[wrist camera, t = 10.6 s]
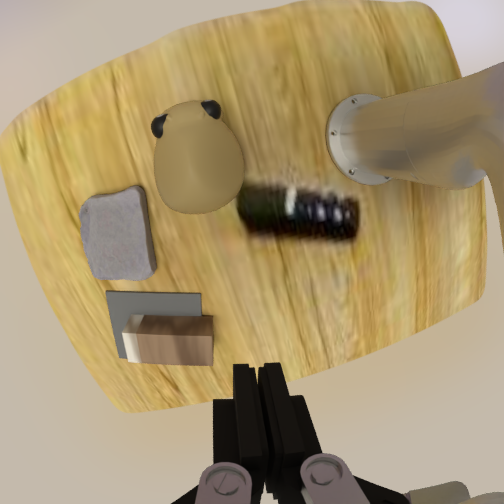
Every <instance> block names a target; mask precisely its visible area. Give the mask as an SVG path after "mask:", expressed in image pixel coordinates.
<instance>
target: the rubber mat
mask: <svg viewBox="0 0 504 504" xmlns="http://www.w3.org/2000/svg"><path fill="white" fill-rule="evenodd" d="M106 298H107V303H108V309H109V314H110V319H111V324H112V328H113V333H114V337H115V342H116V346H117V350H118V354H119V358H124V359H128V358H127V353H126V349H125V345H124V340H123V335H122V332H123V330H124V328H125V326H126V324H127V322H128V320H129V318H130V316H131V314H136V315H162V316H202V312H201V293H168V292H130V291H106Z"/></svg>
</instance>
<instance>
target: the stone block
mask: <svg viewBox="0 0 504 504" xmlns="http://www.w3.org/2000/svg"><path fill="white" fill-rule="evenodd" d="M79 218H80V221H81V228H80V230H81V238H82V242H83V246H84V251H85V254H86V257H87V258H88V264H89V266H90V269H91V272H92V274H93V276H94V277H95V278H97V279H100V280H105V279H106V280H120V279H125V280H133V281H139V280H145V279H147V278H149V277H150V276H152V275H153V274H154V272H155V270H156V268H157V265H156V259H155V254H154V248H153V242H152V236H151V230H150V223H149V217H148V211H147V203H146V195H145V192H144V190H143V189H142V188H140V187H139V186H132V187H129V188H128V189H126V190H124V191H120V192H118V193H114V194H104V195H94V196H92V197H90V198H89V199H88V200H86V201H85V203H84V204H83V205H82V206H81V209H80V212H79Z"/></svg>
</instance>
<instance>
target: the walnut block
mask: <svg viewBox="0 0 504 504" xmlns="http://www.w3.org/2000/svg"><path fill="white" fill-rule="evenodd" d="M122 335H123V340H124V345H125V349H126V353H127V358H128V362H134V363H148V364H165V365H193V366H213V347H214V344H213V316H162V315H136V314H131V316H130V318H129V320H128V322H127V324H126V326H125V328H124V330H123V332H122Z"/></svg>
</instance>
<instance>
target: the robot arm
mask: <svg viewBox="0 0 504 504" xmlns="http://www.w3.org/2000/svg"><path fill="white" fill-rule="evenodd" d="M352 101H353V103H352ZM331 132H333V135H331ZM326 141H327V147H328V150H329V154H330V156H331V158H332V160H333V162H334V163H335V165H336V166H337V168H338V169H339V170H340V171H341V172H342V173H343V174H344V175H345V176H347V177H348V178H350V179H351V180H353V181H355V182H358V183H361V184H365V185H380V184H383V183H386V182H388V181H390V180H391V179H393V178H397V179H402V180H407V181H412V182H417V183H421V184H426V185H431V186H435V187H439V188H445V189H450V190H462V189H466V188H469V187H472V186H473V185H475V184H476V183H478V182H479V181H480V180H482V179H483V178H484V177H485V176H486V175H487V176H488V178H489V180H490V183H491V186H492V190H493V194H494V198H495V203H496V205H497V211H498V216H499V222H500V229H501V236H502V243H503V251H504V62H502V63H499V64H497V65H494V66H492V67H489V68H487V69H485V70H482V71H480V72H478V73H475V74H472V75H469V76H467V77H463V78H460V79H457V80H453V81H450V82H446V83H442V84H437V85H433V86H429V87H425V88H421V89H416V90H412V91H409V92H405V93H401V94H397V95H394V96H390V97H386V98H381V97H378V96H376V95H372V94H356V95H353V96H350V97H348V98H346V99H344V100H343V101H341V102H340V103H339V104H338V105H337V106H336V107H335V108H334V110H333V111H332V113H331V115H330V117H329V120H328V123H327V128H326ZM349 170H350V171H351V172H350V173H349ZM213 462H214V464H213V465H211V466H209V467H208V468H206V469H205V470H204V471H203V473H202V475H201V477H200V481H199V485H197V486H196V487H194V488H193V489H192V490H190V491H189V492H187V493H186V494H185V495H183V496H182V497H180V498H179V499H177V500H176V501H175V502H173V503H171V504H260V500H261V495H262V493H263V489H264V483H265V485H266V491H267V493H273V498H274V500H275V499H278V504H504V492H492V493H486V494H483V495H479V496H476V497H473V498H470V495H469V492H468V489H467V487H466V486H465V485H464V484H463V483H461V482H458V481H453V482H448V483H444V484H441V485H436V486H432V487H427V488H422V489H418V490H412V491H409V492H408V493H405V494H400V493H398V492H396V491H393V490H390V489H387V488H384V487H381V486H379V485H376V484H373V483H370V482H368V481H366V480H363V479H361V478H358V477H356V476H354V475H352V473H351V472H350V470H349V468H348V467H347V465H346V464H345V462H344V461H343V460H342V459H340V458H339V457H337V456H335V455H332V454H325V453H322V450H321V447H320V444H319V441H318V438H317V435H316V432H315V429H314V426H313V423H312V420H311V417H310V414H309V411H308V408H307V405H306V402H305V399H304V397H303V396H302V395H296V396H290V395H289V392H288V389H287V385H286V381H285V378H284V374H283V371H282V367H281V364H280V362H278V363H264V367H259V369H258V384H257V379H256V373H255V368H254V367H253V368H249V364H233V399H213Z"/></svg>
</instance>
